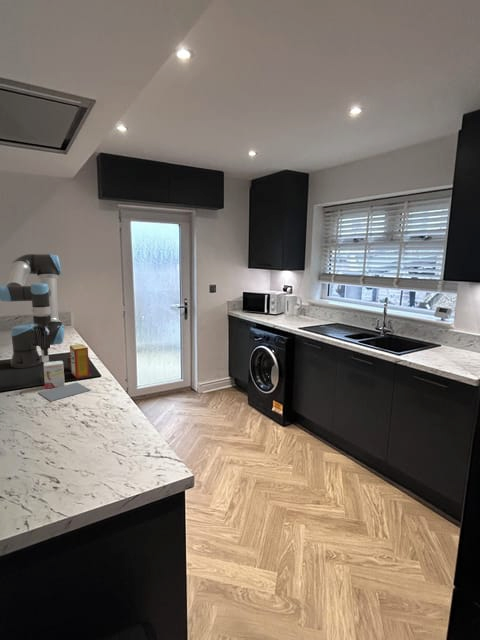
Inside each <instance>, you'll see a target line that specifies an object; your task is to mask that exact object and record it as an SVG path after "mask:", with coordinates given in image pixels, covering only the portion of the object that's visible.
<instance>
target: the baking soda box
mask: <svg viewBox="0 0 480 640" xmlns="http://www.w3.org/2000/svg"><path fill="white" fill-rule="evenodd" d="M69 354H70V355H69V357H70V358H71V370H70V371H71V374H72V376H73V377H74V378H75V377H76V378H75V379H81V378H82V379H83V378H87V377H90V364H89V363H90V362H89V361H90V360H89V348H88V346H86V345H85V344H84V343H79V344H71V345H69ZM86 376H87V377H86Z"/></svg>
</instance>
